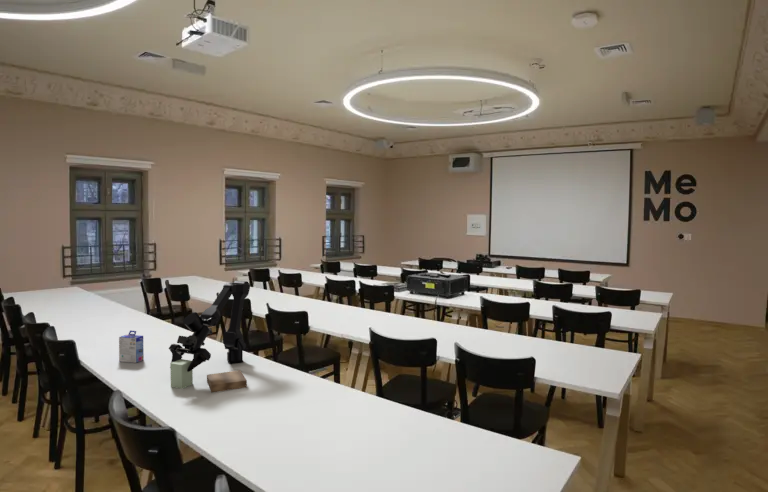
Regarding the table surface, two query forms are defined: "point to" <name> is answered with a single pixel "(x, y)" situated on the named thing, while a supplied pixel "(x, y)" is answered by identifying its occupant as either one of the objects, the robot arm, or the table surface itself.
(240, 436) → the table surface
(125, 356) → the ink cartridge box
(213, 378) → the walnut plinth
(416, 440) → the table surface
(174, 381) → the sage block
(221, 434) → the table surface
